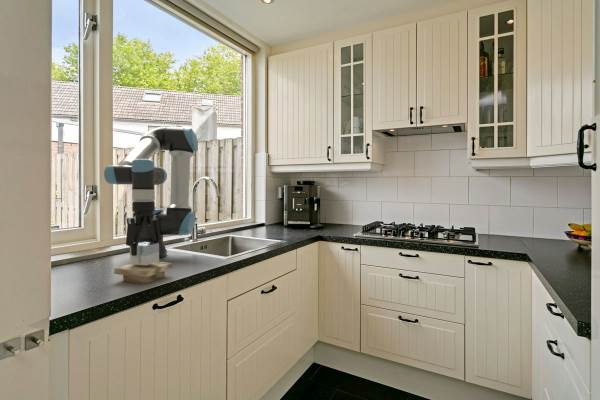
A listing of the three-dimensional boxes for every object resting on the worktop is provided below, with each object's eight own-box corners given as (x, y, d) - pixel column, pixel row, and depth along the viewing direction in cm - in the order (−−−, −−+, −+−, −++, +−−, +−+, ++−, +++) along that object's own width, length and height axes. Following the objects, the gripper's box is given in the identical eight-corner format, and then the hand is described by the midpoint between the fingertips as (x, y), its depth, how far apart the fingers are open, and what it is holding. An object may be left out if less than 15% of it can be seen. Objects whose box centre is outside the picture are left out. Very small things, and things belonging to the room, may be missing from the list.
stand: (143, 272, 132) (143, 259, 132) (172, 275, 128) (172, 263, 127) (114, 281, 119) (114, 268, 119) (145, 286, 114) (144, 272, 114)
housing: (159, 261, 125) (158, 243, 125) (145, 265, 118) (144, 246, 118) (141, 259, 128) (141, 241, 127) (126, 263, 121) (126, 244, 121)
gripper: (155, 199, 132) (155, 255, 134) (112, 201, 113) (114, 267, 115) (170, 199, 130) (170, 256, 131) (129, 202, 111) (130, 269, 112)
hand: (144, 261), depth 123 cm, fingers closed on housing, 7 cm apart
